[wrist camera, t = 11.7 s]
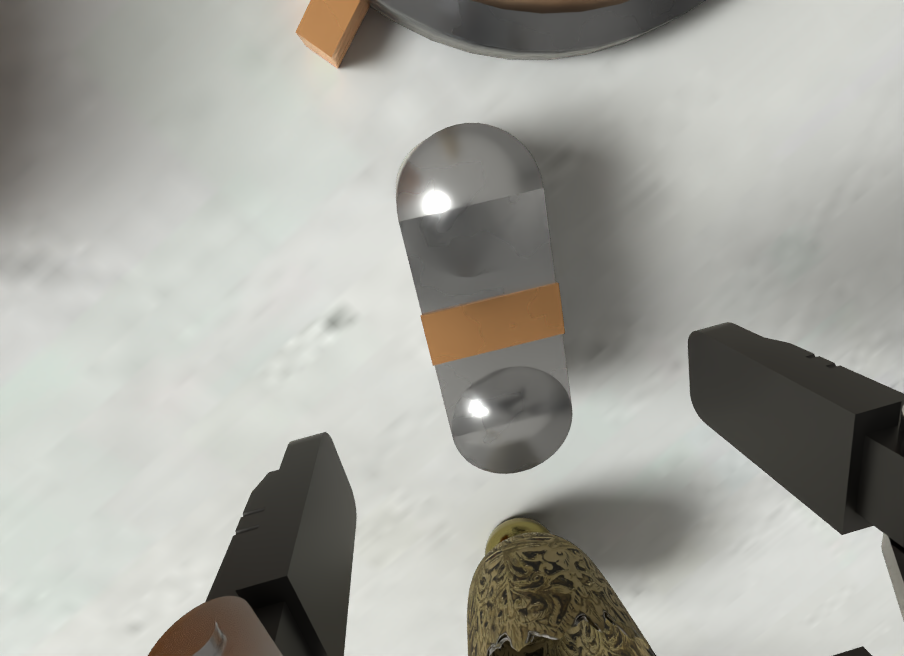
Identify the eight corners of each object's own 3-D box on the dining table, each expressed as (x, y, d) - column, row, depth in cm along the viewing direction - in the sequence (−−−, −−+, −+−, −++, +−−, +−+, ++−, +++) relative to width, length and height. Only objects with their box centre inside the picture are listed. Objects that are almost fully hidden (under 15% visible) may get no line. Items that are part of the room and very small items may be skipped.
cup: (524, 456, 22) (588, 602, 15) (608, 530, 25) (700, 687, 17) (418, 546, 24) (429, 723, 16) (509, 608, 26) (555, 787, 19)
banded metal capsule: (488, 124, 17) (536, 106, 11) (530, 378, 21) (580, 458, 15) (382, 148, 17) (376, 142, 11) (444, 399, 21) (463, 488, 15)
